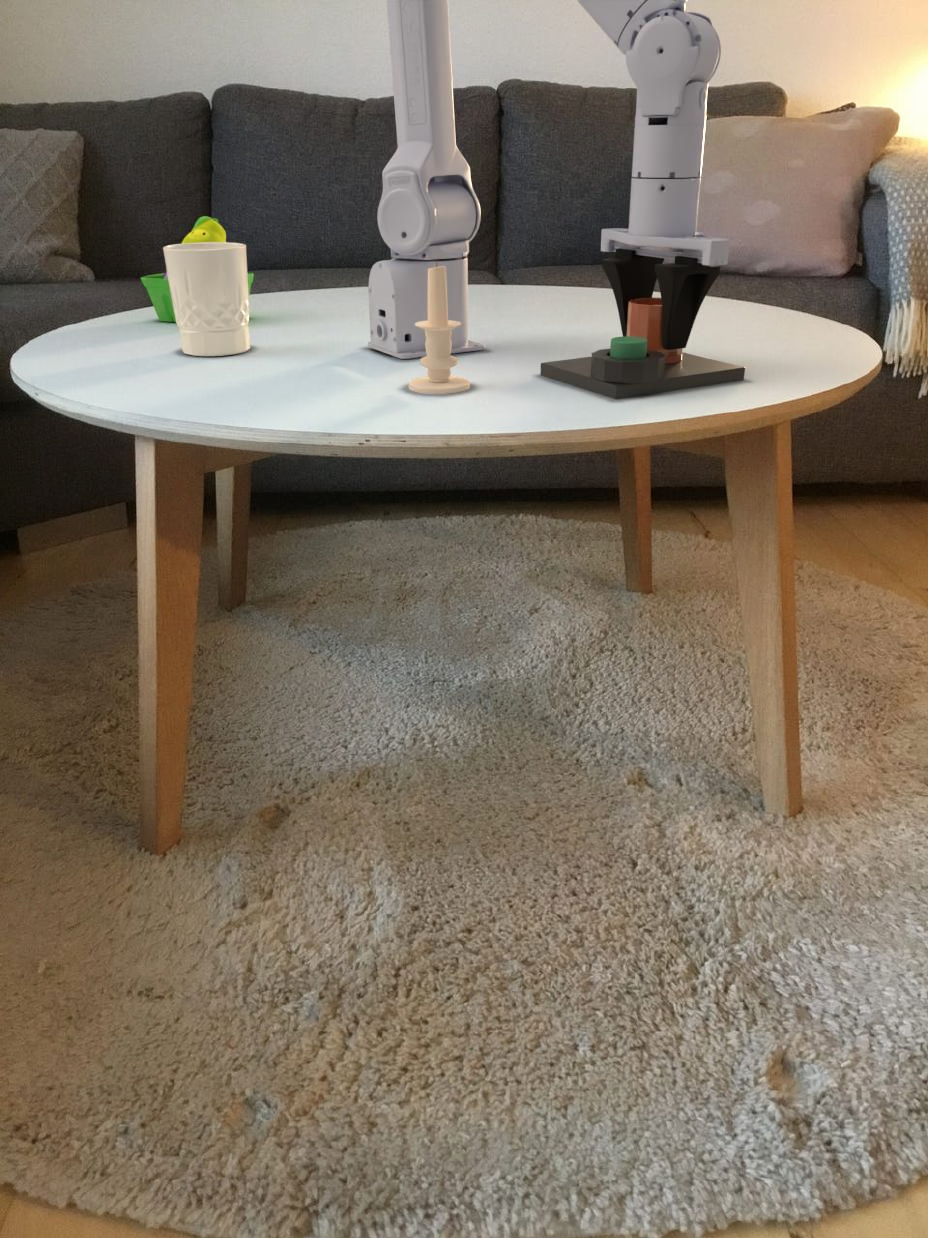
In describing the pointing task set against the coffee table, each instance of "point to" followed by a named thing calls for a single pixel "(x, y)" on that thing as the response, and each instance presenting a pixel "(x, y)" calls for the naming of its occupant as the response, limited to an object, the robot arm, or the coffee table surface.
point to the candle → (438, 341)
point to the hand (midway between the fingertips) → (654, 343)
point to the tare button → (628, 347)
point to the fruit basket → (159, 283)
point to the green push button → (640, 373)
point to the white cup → (210, 296)
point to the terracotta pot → (650, 326)
